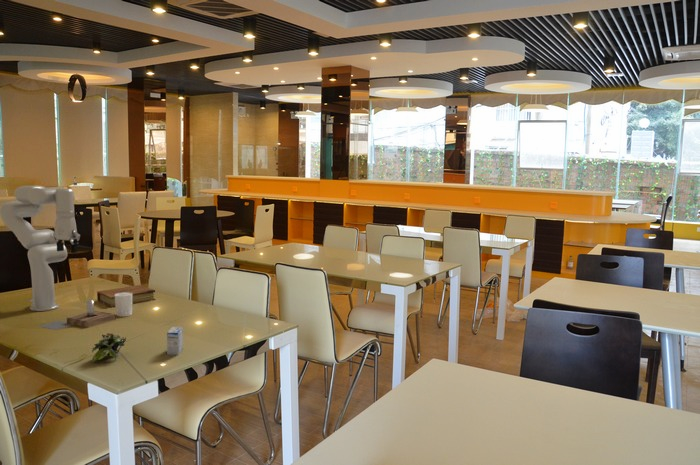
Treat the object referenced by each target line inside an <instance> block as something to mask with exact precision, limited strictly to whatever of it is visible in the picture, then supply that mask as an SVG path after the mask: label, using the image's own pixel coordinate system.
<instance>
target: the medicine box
mask: <svg viewBox="0 0 700 465" xmlns="http://www.w3.org/2000/svg"><path fill="white" fill-rule="evenodd" d="M166 349H167V350H166V352H167V355H168V356H169V355H170V356H171V355H180V353H181V352H182V350H183V349H184V327H183V326H171V327H170V329H168V331H167V332H166Z"/></svg>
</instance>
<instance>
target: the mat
mask: <svg viewBox="0 0 700 465" xmlns="http://www.w3.org/2000/svg"><path fill="white" fill-rule="evenodd" d="M72 326H75V325H74V324H69V323H67V321H62V320H55V321H52V322H48V323H44V324H42V325H41V324H40V325H38V327H39V328H45V329H48V330H49V329H50V330H54V331H57V330H61V329H65V328H68V327H72Z"/></svg>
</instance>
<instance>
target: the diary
mask: <svg viewBox="0 0 700 465" xmlns="http://www.w3.org/2000/svg"><path fill="white" fill-rule="evenodd" d="M125 292H128V293H132V305H133V304H138V303H144V302H146V303H147V302H151V300H152V301H156V298H155V297H154V293H156V290H155V289H152V288H149V287H147V286H144V285H141V284H138V285H132V286H125V287H117V288H112V289H105V290H97V291H96V295H97V296H96V298H97V299H96V300H97V302H99V303H102V304H104V305H106V306H108V307H110V308H116V306H115V294H117V293H125Z"/></svg>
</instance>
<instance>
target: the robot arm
mask: <svg viewBox="0 0 700 465" xmlns="http://www.w3.org/2000/svg"><path fill="white" fill-rule="evenodd" d="M13 194H14V198H15V199H16V200H11V201H7V202H4V203H2V204H1V205H0V218H1V220H2V222H3V224H4V225H5V226H6V227H7V228H8V229H10V230H11V232H12V233H13V234H14V235H15V237H16V238H17V240H18V242H19V243H21V245H22V246H23V247H24V249H26V250H28V251H27V259H28V262H29V266H30V276H31V289H32V299H30V300H29V302H30V303H32V305H31V306H29V310H30V311H32V312H45V311H52V310H56V309H58V308H59V306H60V305H59V303H56V298H55V276H54V271H53V269H52V268H51V267H50V265H49V264H52V263H59V262H63V261H65V260H66V259H67V257H68V249H67V247H66V246H65V244H64V241H69V242H70V253H71V254H74V253H78V252H79V247H78V245H79V242H80V238H81V234H79V233H78V229H77V223H76V219H75V216H76V215H75V201H74V200H75V199H74V198H75V196H74V191H73V189H72V188H65V187H46V186H43V185H38V184H37V185H21V186H18V187H17V188H16V189H15V190H14V193H13ZM45 205H55V212H56V213H55V214H56V216H55V217H56V218H55V221H54V230H53V229H48V228H43V229H35V228H34V227H33V226H32V224H31V223H30V222H29V221H27V220H25V219H23V218H31V217H37V216H38V215H39V214H40V213H41V211H42V209H43V208H44V206H45Z"/></svg>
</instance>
